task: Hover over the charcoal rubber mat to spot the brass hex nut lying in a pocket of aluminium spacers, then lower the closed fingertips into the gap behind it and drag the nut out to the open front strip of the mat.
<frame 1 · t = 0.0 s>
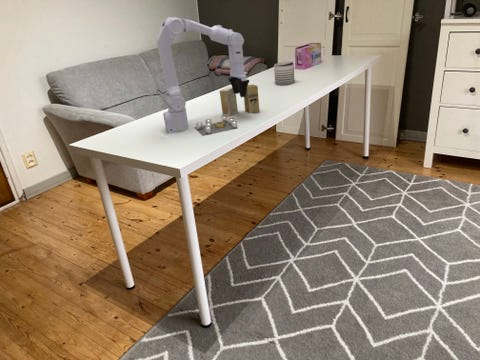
hand: (239, 95, 168), 10 cm above the table, fingers open, 7 cm apart
can: (284, 84, 226), on the table
spacers: (180, 130, 165), resting on mat
nut: (220, 126, 162), point 1 cm above the table, touching mat
shoe polish box: (252, 112, 179), on the table
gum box: (308, 66, 268), on the table
mat: (215, 129, 161), on the table
skincare box: (230, 115, 178), on the table
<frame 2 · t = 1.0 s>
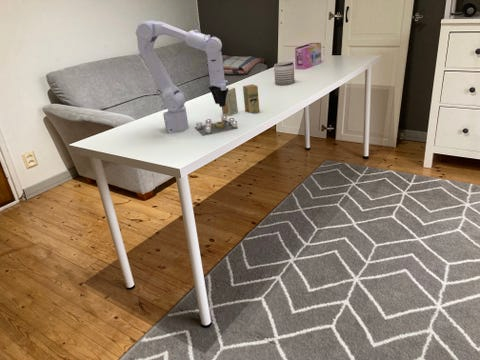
hand: (220, 105, 157), 10 cm above the table, fingers open, 5 cm apart
nothing on the table moved.
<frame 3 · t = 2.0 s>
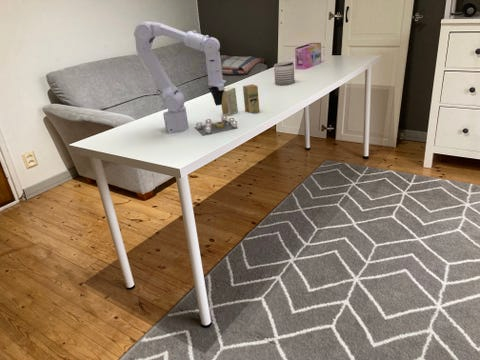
hand: (218, 104, 159), 10 cm above the table, fingers closed
nothing on the table moved.
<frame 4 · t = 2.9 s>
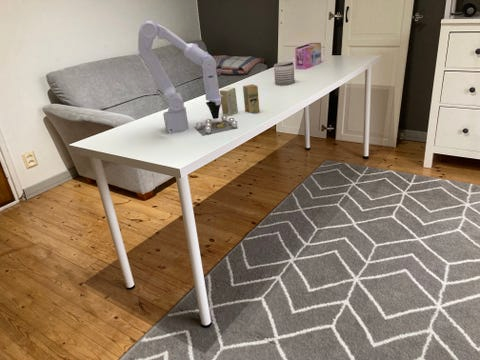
hand: (215, 118, 165), 3 cm above the table, fingers closed
nothing on the table moved.
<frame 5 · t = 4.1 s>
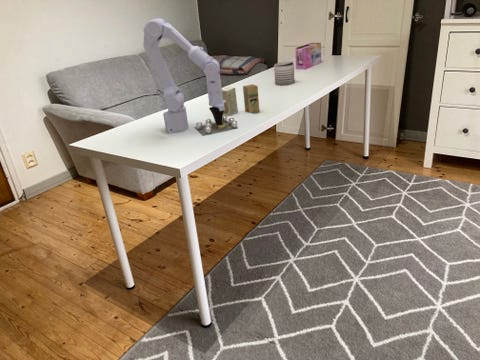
hand: (218, 124, 162), 2 cm above the table, fingers closed
nut: (221, 127, 160), point 1 cm above the table, touching gripper, mat
everything else where it was.
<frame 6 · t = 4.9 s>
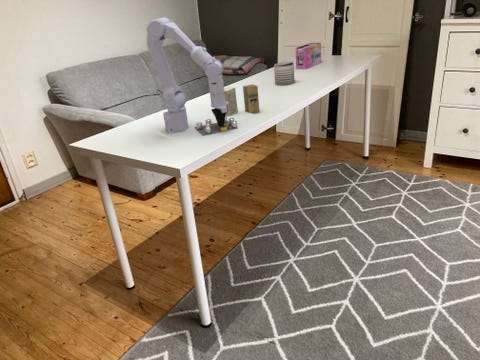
hand: (221, 125, 160), 2 cm above the table, fingers closed
nut: (223, 129, 158), point 1 cm above the table, touching gripper, mat
everything else where it was.
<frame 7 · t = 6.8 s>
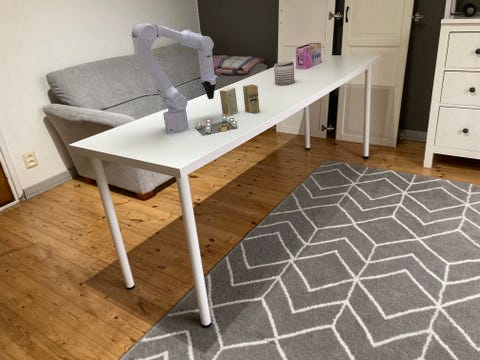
hand: (210, 98, 168), 10 cm above the table, fingers closed
nut: (223, 129, 158), point 1 cm above the table, touching mat
everything else where it was.
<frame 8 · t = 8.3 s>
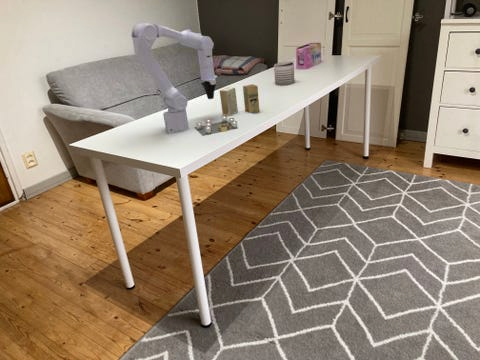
hand: (210, 98, 169), 10 cm above the table, fingers closed
nothing on the table moved.
at the end: nut inside the target area (2.0 cm from its centre), point 0.8 cm above the table; nut moved 4.6 cm from its start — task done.
